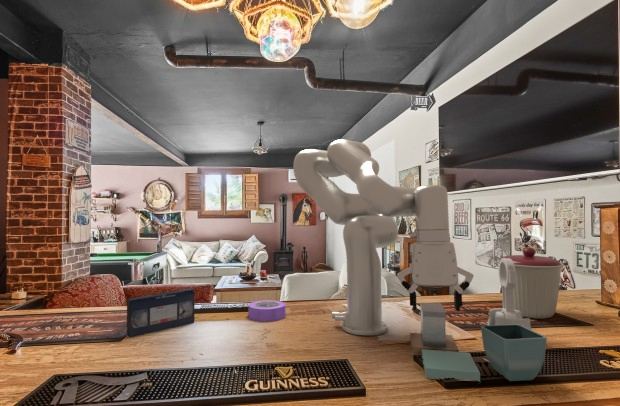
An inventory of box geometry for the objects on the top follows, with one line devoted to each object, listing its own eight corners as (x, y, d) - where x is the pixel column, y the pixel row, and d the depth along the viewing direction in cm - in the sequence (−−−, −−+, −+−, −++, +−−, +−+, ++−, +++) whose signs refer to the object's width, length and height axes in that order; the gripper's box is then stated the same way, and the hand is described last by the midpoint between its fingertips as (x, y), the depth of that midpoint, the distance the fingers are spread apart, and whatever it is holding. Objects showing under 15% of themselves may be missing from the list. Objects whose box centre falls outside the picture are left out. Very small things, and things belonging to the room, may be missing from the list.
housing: (446, 347, 84) (445, 312, 84) (423, 346, 85) (423, 311, 85) (441, 335, 92) (441, 303, 92) (420, 334, 93) (420, 302, 93)
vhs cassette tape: (129, 338, 98) (129, 300, 98) (125, 335, 100) (125, 298, 100) (195, 323, 110) (195, 289, 110) (191, 321, 112) (191, 288, 112)
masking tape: (266, 309, 126) (265, 297, 126) (293, 315, 119) (293, 302, 119) (240, 317, 116) (240, 305, 116) (268, 324, 109) (268, 311, 109)
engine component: (493, 344, 92) (538, 346, 90) (492, 261, 92) (537, 262, 90) (482, 329, 102) (522, 332, 100) (481, 255, 103) (521, 256, 101)
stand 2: (426, 378, 74) (425, 368, 74) (421, 358, 83) (421, 349, 83) (480, 382, 72) (480, 372, 72) (469, 361, 81) (469, 352, 81)
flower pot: (479, 367, 79) (479, 324, 79) (519, 365, 79) (518, 323, 79) (504, 387, 70) (504, 339, 70) (549, 385, 71) (548, 337, 71)
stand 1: (412, 355, 85) (412, 347, 85) (410, 340, 95) (410, 332, 95) (458, 359, 83) (458, 350, 83) (451, 343, 92) (451, 335, 93)
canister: (489, 305, 127) (488, 244, 127) (546, 307, 125) (545, 244, 125) (510, 322, 109) (509, 250, 109) (577, 324, 107) (576, 250, 107)
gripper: (395, 238, 87) (398, 312, 86) (474, 237, 83) (478, 314, 83) (395, 236, 94) (397, 304, 94) (468, 235, 91) (471, 306, 90)
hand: (435, 309), depth 88 cm, fingers open, 9 cm apart
